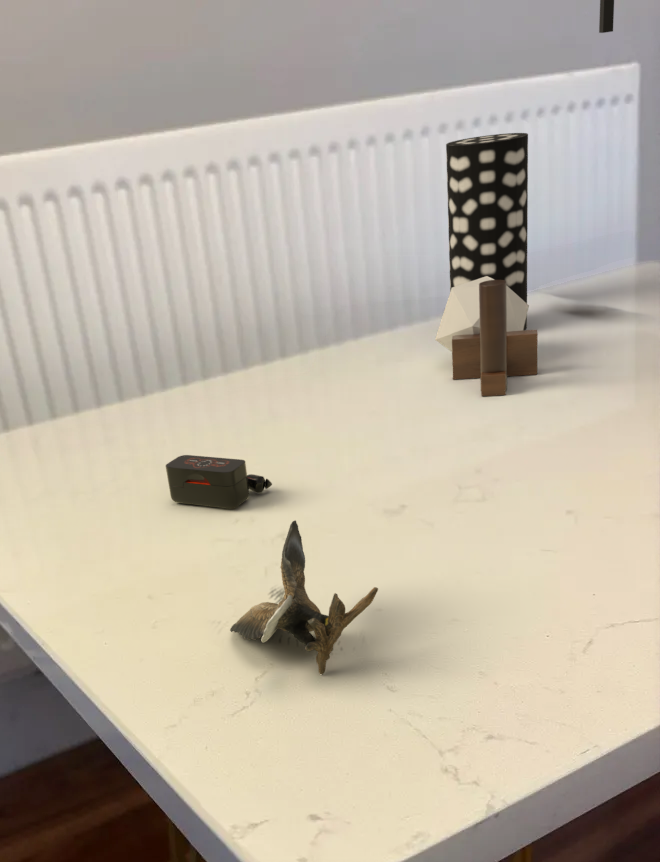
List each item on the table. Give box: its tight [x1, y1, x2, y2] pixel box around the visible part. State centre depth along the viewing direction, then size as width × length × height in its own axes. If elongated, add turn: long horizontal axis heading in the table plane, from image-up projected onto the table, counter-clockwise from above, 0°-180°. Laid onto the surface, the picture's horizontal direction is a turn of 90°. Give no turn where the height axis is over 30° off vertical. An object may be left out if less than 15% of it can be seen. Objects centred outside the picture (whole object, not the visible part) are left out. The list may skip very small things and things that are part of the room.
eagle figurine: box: [229, 519, 379, 675], centre depth 59 cm, size 8×7×9 cm
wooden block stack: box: [451, 280, 539, 397], centre depth 97 cm, size 8×8×10 cm
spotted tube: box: [445, 132, 529, 330], centre depth 112 cm, size 8×8×20 cm
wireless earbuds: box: [165, 454, 273, 510], centre depth 82 cm, size 5×7×3 cm, turn 57°
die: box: [434, 276, 530, 353], centre depth 104 cm, size 8×9×10 cm
